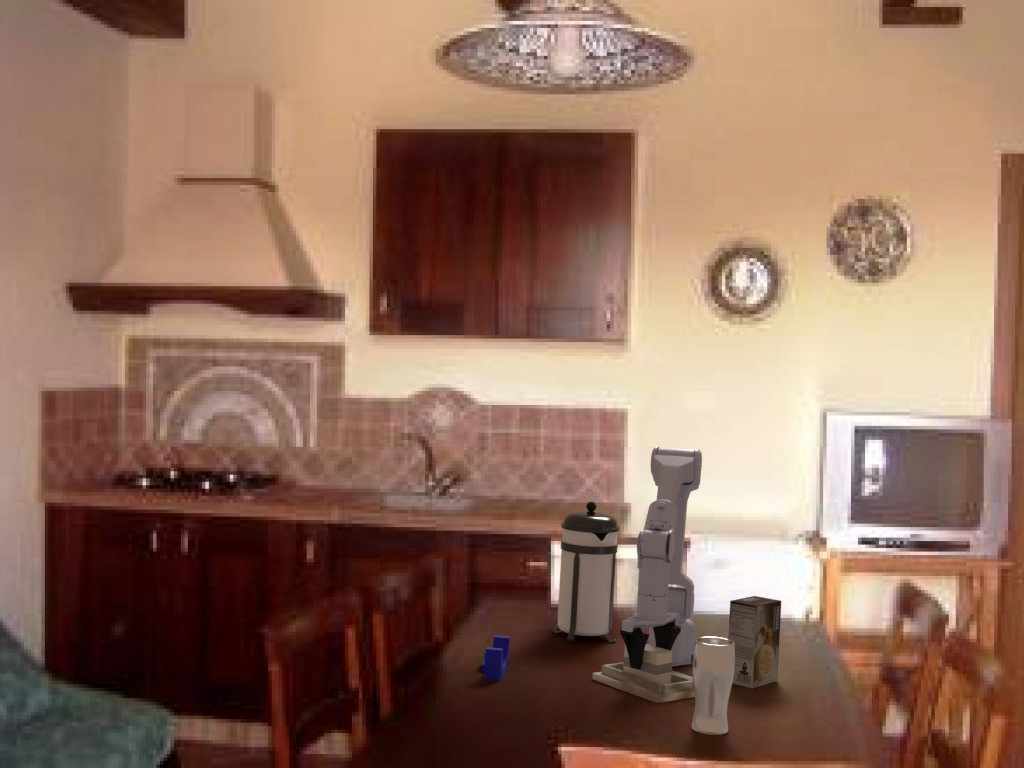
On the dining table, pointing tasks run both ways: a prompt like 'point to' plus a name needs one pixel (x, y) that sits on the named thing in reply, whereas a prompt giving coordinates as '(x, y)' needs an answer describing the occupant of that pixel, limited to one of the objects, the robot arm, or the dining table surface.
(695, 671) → the beer glass
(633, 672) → the cream grey striped block
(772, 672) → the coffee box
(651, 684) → the board
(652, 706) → the dining table surface
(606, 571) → the coffee press
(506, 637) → the cable clip
